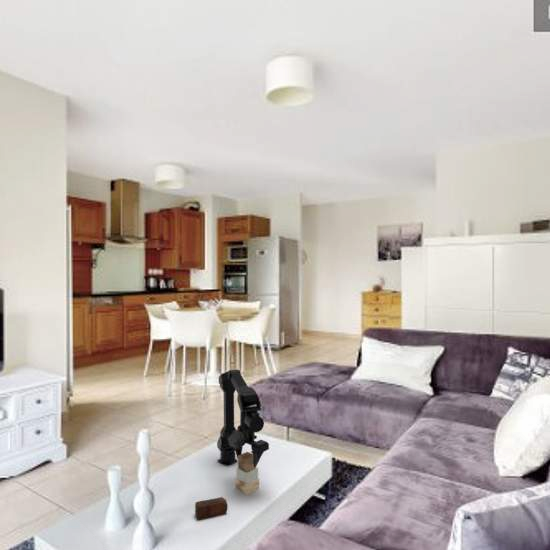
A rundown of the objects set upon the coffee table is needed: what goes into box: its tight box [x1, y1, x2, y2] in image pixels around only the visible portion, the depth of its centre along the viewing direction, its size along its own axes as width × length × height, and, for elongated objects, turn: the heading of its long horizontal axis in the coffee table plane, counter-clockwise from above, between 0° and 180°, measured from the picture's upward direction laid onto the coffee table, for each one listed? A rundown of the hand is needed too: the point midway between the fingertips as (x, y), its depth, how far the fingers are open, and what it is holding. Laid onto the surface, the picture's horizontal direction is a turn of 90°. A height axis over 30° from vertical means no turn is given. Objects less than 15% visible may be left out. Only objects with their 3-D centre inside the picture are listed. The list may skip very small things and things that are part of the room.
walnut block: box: [237, 451, 257, 472], centre depth 163 cm, size 5×5×5 cm
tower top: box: [235, 466, 259, 484], centre depth 163 cm, size 6×6×4 cm
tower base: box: [234, 477, 260, 495], centre depth 162 cm, size 6×6×4 cm
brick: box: [194, 496, 228, 521], centre depth 145 cm, size 11×4×5 cm, turn 114°
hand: (246, 462), depth 162 cm, fingers open, 9 cm apart
